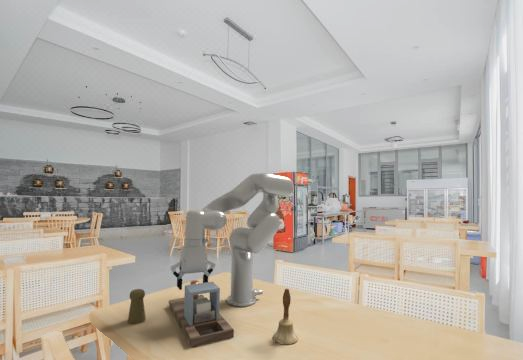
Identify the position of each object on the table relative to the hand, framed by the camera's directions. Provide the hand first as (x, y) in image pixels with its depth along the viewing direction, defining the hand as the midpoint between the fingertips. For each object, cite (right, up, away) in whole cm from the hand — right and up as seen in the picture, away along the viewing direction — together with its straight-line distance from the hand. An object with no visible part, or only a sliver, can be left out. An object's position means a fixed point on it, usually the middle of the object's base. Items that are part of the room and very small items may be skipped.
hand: (192, 287), depth 113 cm
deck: (+3, -10, -5) cm, 12 cm away
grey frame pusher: (+3, -8, -5) cm, 10 cm away
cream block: (+5, -8, -9) cm, 13 cm away
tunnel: (+5, -8, -9) cm, 13 cm away
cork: (-19, -10, -6) cm, 22 cm away
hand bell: (+34, -11, -17) cm, 40 cm away
